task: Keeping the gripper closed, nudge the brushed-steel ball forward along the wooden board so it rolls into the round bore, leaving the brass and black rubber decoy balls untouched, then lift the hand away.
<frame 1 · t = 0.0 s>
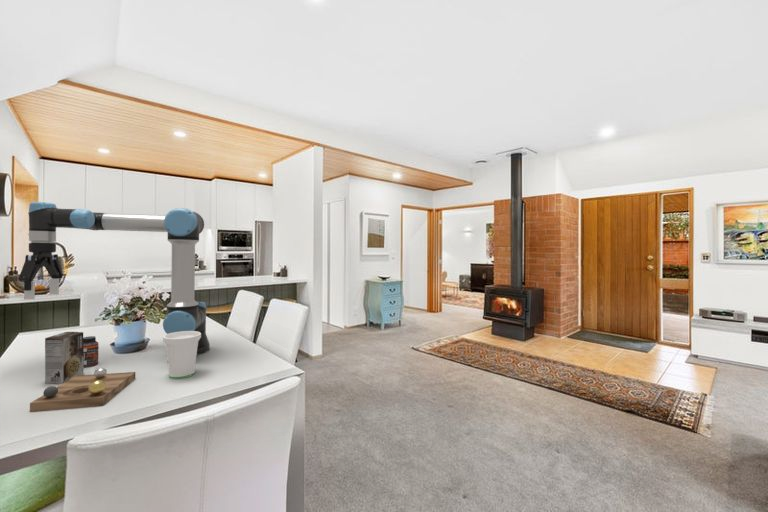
hand: (42, 296, 133), 28 cm above the table, fingers open, 13 cm apart
wooden board: (88, 393, 112), on the table
rubber decoy: (50, 391, 103), point 4 cm above the table, touching wooden board
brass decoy: (97, 387, 105), point 5 cm above the table, touching wooden board
steel ball: (100, 372, 118), point 4 cm above the table, touching wooden board
cup: (182, 375, 129), on the table
coffee box: (64, 379, 123), on the table
supplement bottle: (88, 365, 138), on the table
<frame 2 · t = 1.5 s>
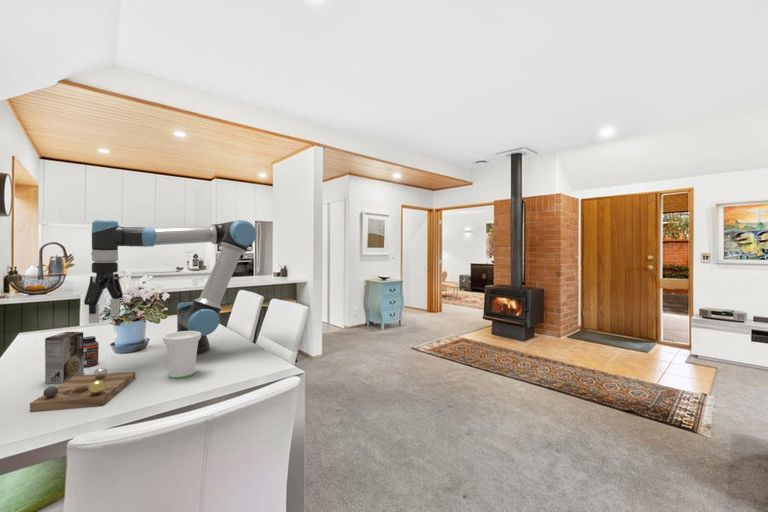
hand: (104, 319, 126), 21 cm above the table, fingers open, 13 cm apart
nothing on the table moved.
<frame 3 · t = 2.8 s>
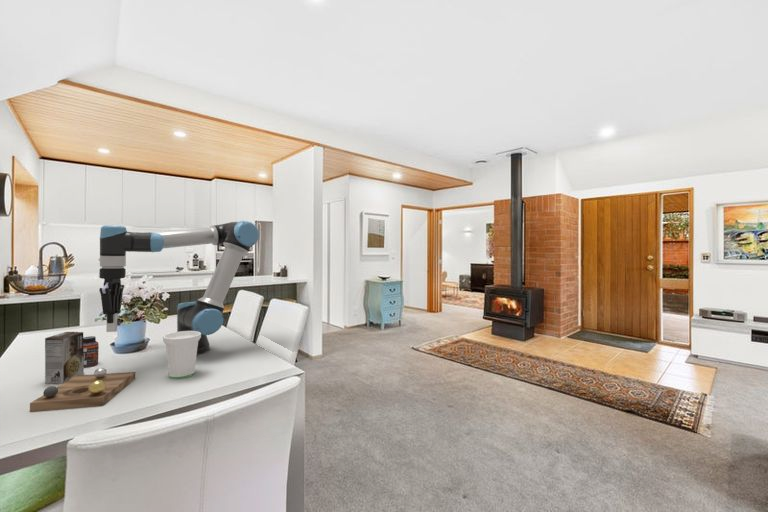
hand: (111, 331, 126), 17 cm above the table, fingers closed
nothing on the table moved.
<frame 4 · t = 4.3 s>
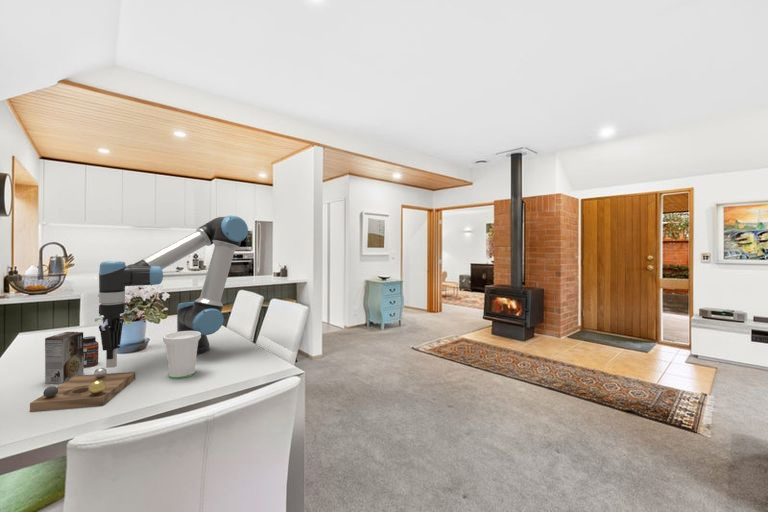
hand: (111, 366, 126), 4 cm above the table, fingers closed
nothing on the table moved.
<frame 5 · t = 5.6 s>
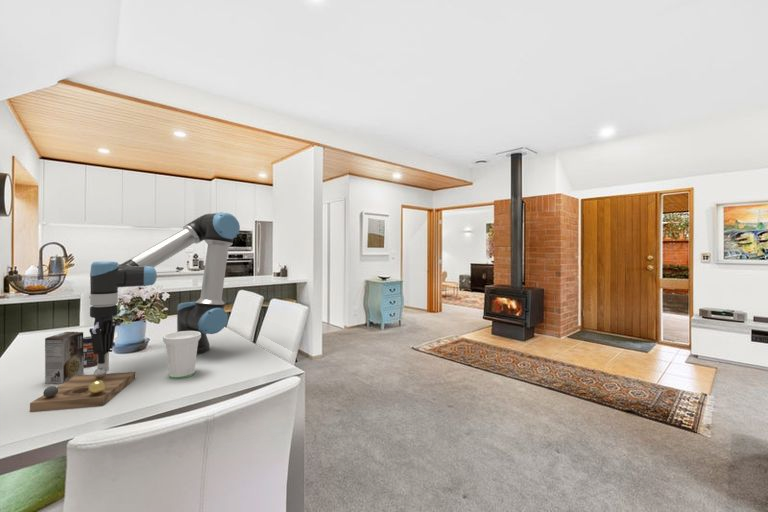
hand: (103, 371, 120), 4 cm above the table, fingers closed
steel ball: (100, 373, 118), point 4 cm above the table, touching wooden board, gripper
everything else where it was.
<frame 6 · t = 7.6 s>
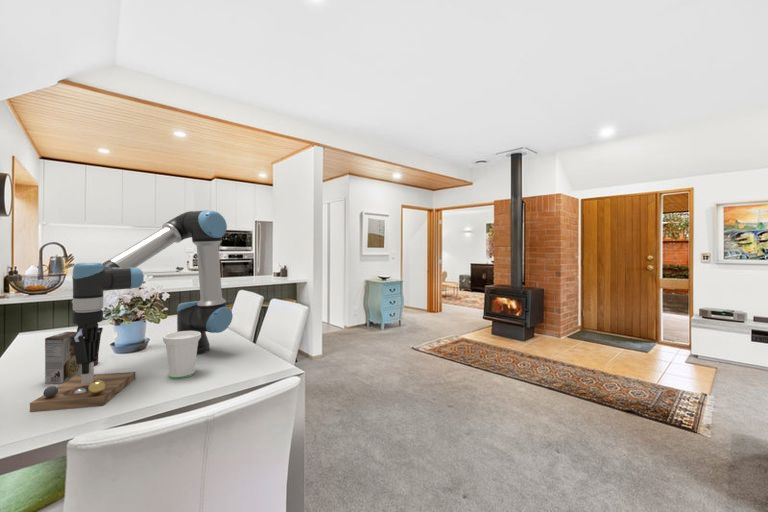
hand: (87, 382, 111), 4 cm above the table, fingers closed
steel ball: (80, 393, 107), point 2 cm above the table, tilted 64°
everything else where it was.
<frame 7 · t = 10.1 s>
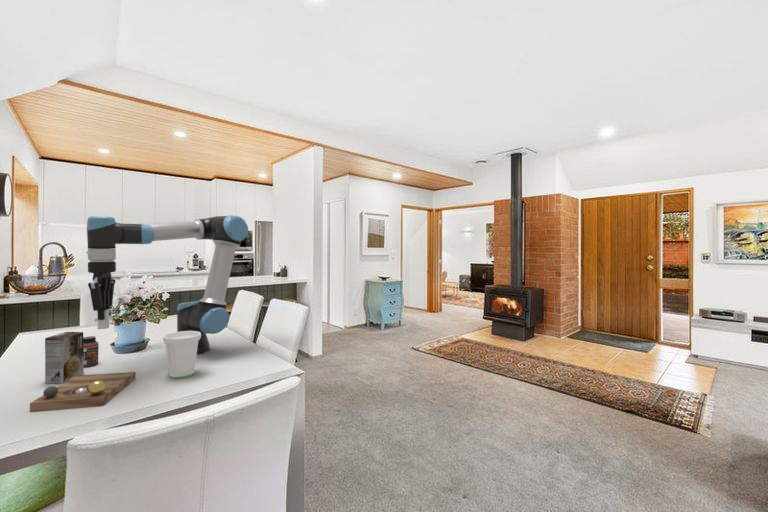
hand: (103, 328, 119), 20 cm above the table, fingers closed
steel ball: (81, 393, 108), point 2 cm above the table, tilted 46°
everything else where it was.
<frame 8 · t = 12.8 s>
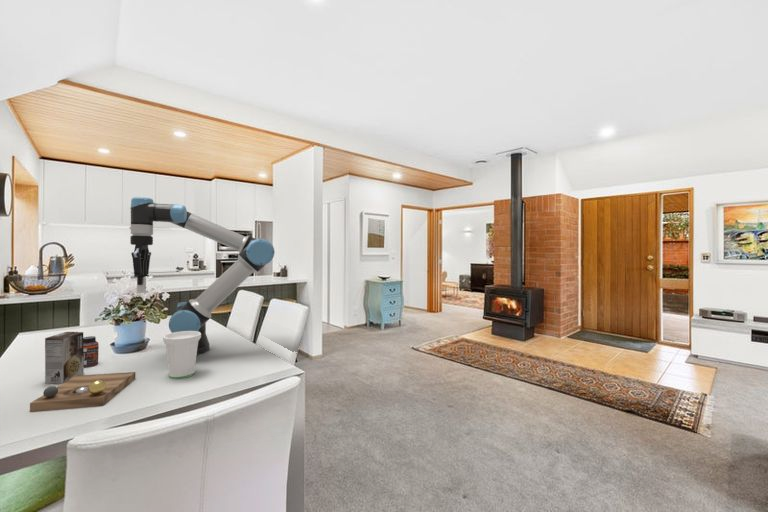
hand: (141, 292, 140), 29 cm above the table, fingers closed
steel ball: (82, 392, 108), point 2 cm above the table, tilted 27°
everything else where it was.
at the end: steel ball 0.5 cm from the target spot in the wooden board, point 1.7 cm above the wooden board's base; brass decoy moved 0.1 cm from its start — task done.
